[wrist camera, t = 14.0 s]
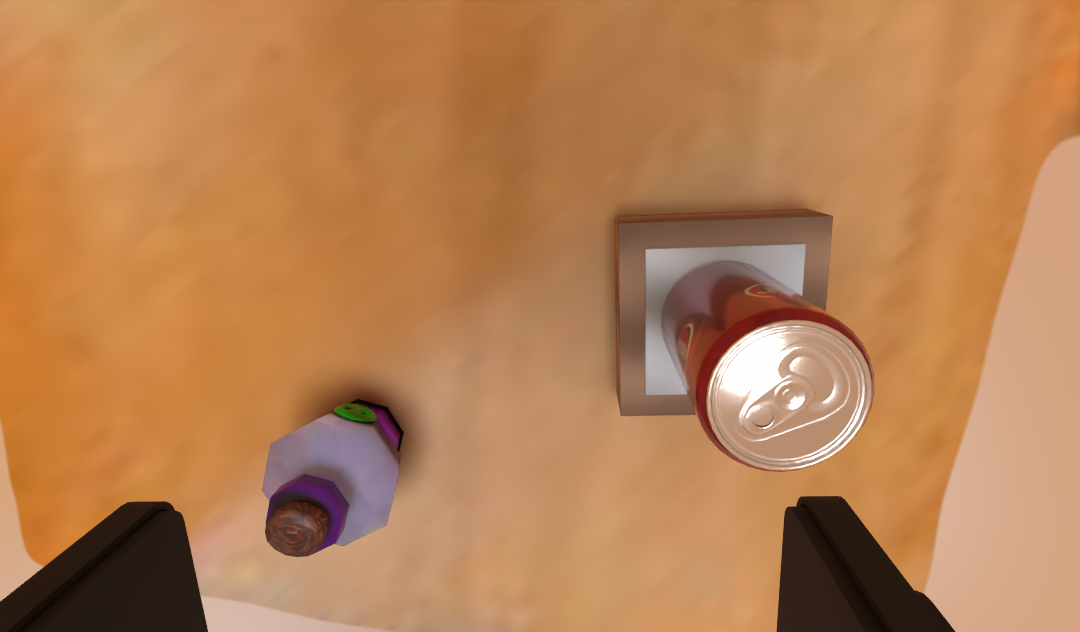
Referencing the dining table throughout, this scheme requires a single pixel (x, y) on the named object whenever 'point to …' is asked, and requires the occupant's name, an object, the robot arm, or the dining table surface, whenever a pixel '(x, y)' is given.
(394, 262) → the dining table surface
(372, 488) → the potion bottle
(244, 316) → the dining table surface
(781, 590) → the robot arm
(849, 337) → the soda can
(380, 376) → the dining table surface
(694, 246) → the pedestal
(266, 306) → the dining table surface
